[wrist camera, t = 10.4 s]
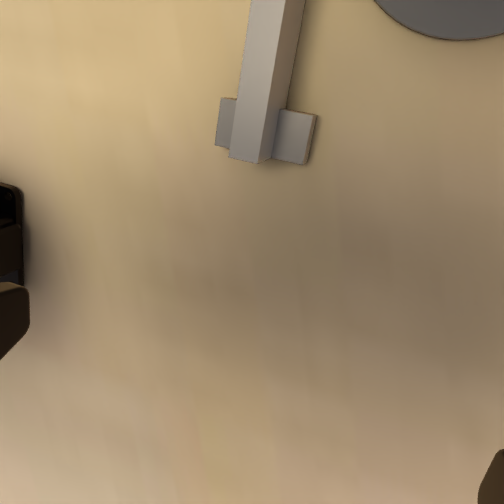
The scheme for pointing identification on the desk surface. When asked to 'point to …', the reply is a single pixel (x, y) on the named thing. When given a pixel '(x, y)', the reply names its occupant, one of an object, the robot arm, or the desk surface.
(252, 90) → the low wall
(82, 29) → the desk surface
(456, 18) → the pad
